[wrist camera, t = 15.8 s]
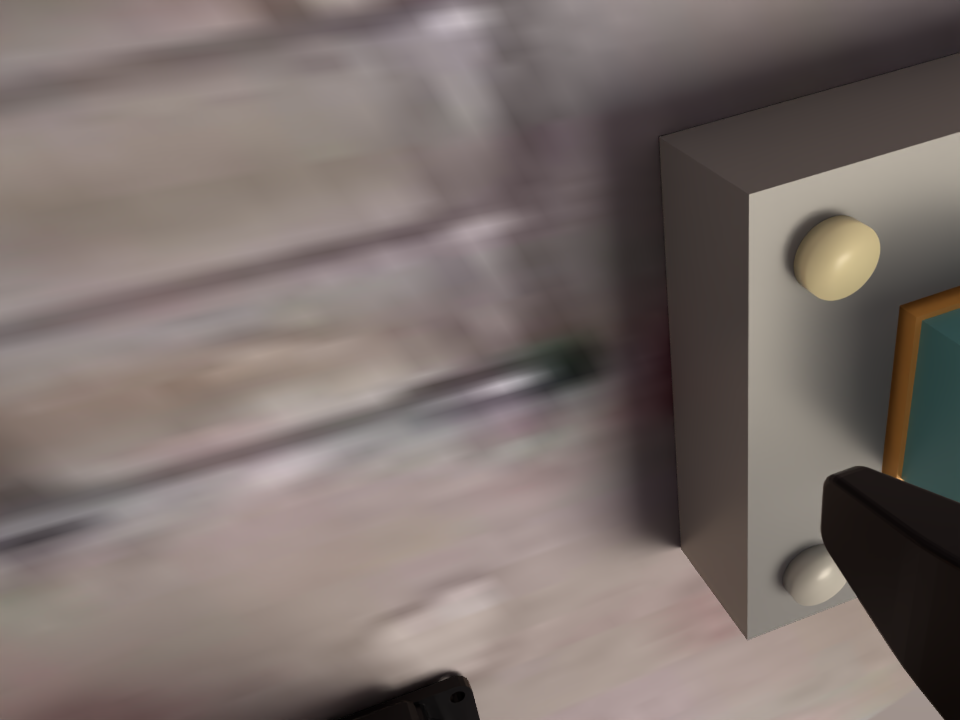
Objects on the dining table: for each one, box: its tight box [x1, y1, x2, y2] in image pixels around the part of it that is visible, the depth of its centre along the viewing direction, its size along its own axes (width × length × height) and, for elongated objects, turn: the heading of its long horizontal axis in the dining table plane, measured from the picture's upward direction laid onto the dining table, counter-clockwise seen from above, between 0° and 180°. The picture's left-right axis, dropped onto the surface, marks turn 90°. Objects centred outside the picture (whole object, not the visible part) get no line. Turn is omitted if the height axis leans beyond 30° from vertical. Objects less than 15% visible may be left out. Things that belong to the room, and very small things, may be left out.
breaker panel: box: [659, 53, 960, 640], centre depth 25 cm, size 14×14×4 cm
